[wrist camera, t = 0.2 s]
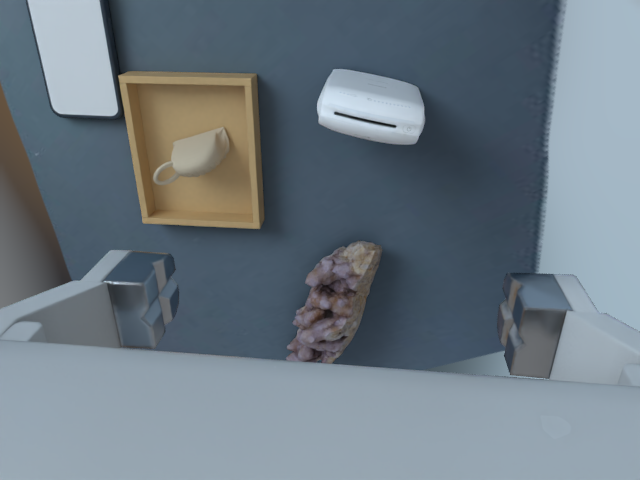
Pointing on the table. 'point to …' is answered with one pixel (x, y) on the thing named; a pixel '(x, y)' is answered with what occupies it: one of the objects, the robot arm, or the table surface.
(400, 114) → the photo printer
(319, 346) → the mineral specimen
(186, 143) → the decorative ornament
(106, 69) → the smartphone
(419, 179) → the table surface
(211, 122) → the tray
